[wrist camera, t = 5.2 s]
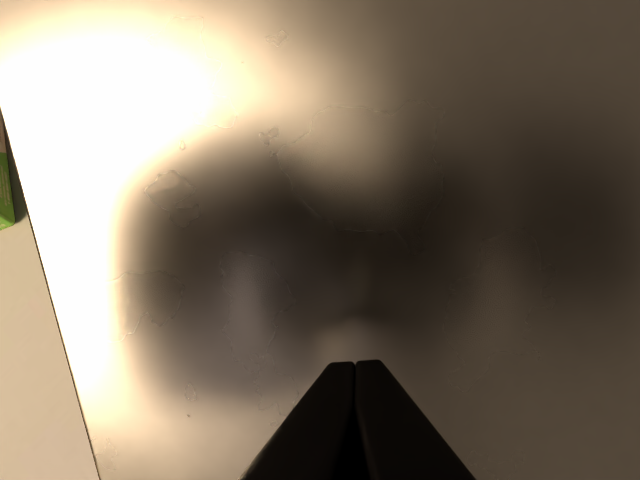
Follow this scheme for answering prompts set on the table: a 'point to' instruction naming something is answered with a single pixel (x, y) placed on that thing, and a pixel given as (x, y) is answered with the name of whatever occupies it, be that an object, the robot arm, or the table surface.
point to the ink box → (5, 186)
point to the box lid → (337, 219)
